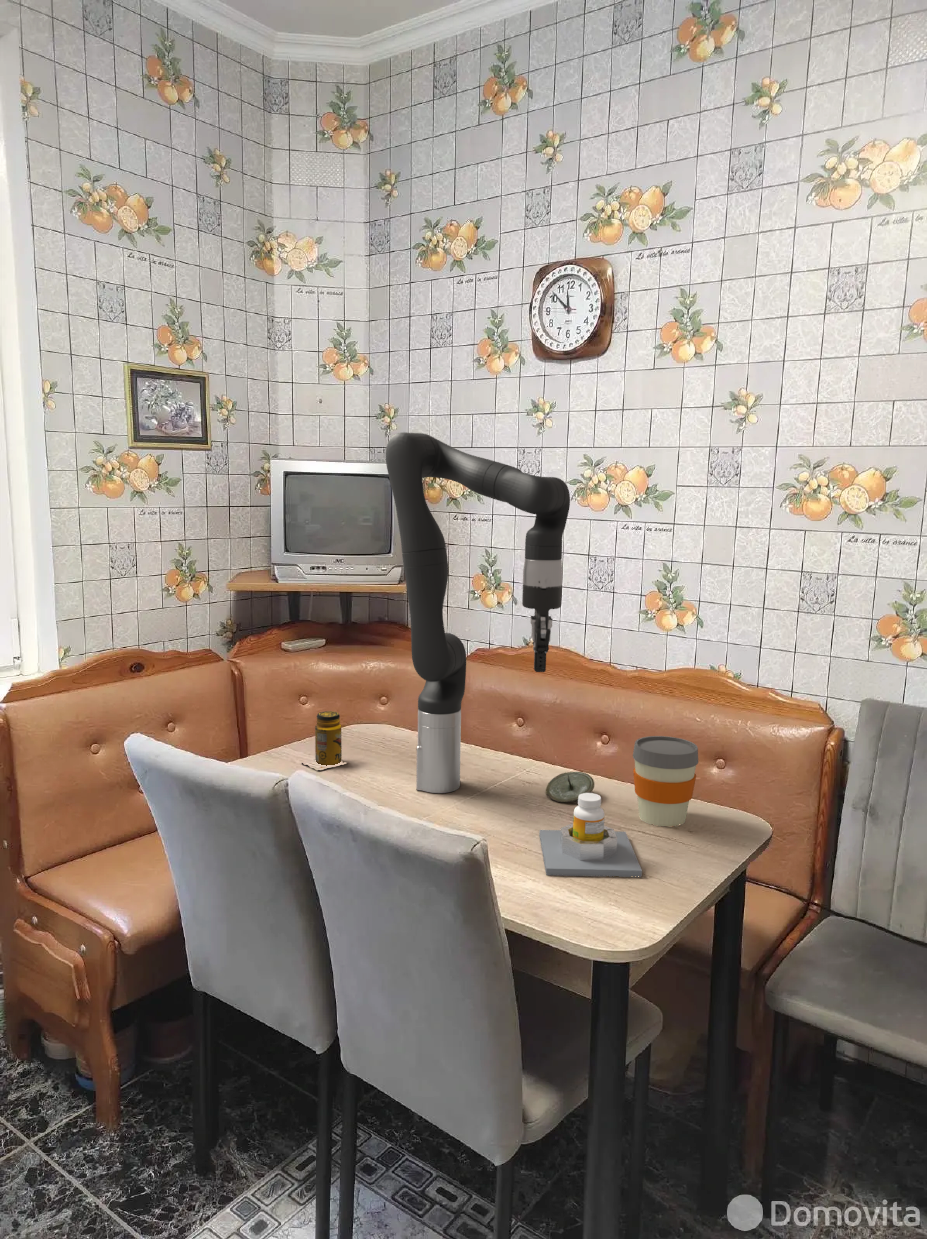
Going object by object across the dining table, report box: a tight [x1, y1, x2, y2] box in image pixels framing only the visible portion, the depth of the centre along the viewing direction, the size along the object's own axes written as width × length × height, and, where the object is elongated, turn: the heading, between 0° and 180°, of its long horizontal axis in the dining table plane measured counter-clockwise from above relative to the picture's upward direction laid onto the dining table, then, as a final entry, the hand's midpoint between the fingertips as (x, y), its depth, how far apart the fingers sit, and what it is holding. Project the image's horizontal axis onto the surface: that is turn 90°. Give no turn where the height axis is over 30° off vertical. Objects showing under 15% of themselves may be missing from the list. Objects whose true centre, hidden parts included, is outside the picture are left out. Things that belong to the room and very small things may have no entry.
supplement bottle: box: [572, 792, 605, 842], centre depth 148 cm, size 5×5×10 cm
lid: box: [545, 771, 595, 803], centre depth 177 cm, size 11×10×5 cm
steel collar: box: [560, 822, 617, 861], centre depth 148 cm, size 10×10×3 cm
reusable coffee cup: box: [632, 735, 699, 827], centre depth 165 cm, size 13×13×15 cm
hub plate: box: [538, 829, 643, 878], centre depth 149 cm, size 16×16×1 cm
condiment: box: [314, 710, 343, 766], centre depth 194 cm, size 7×8×12 cm
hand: (539, 671), depth 163 cm, fingers closed
